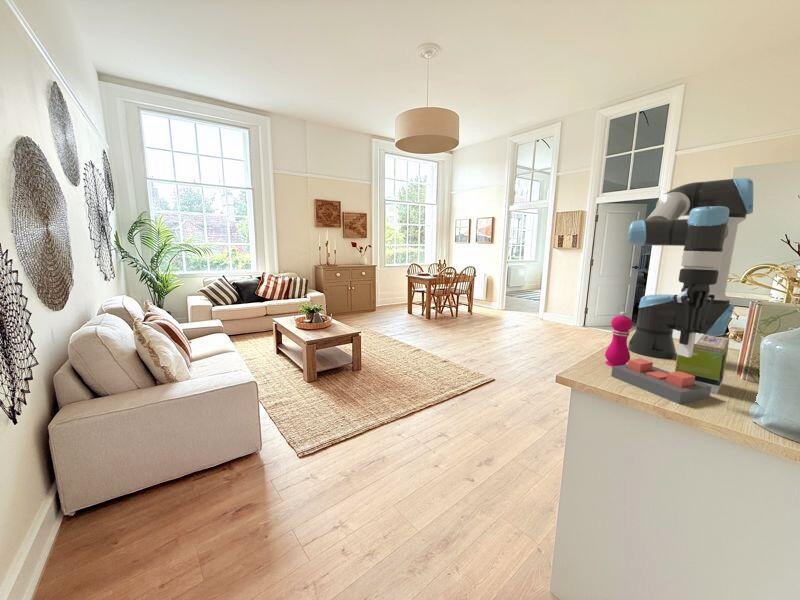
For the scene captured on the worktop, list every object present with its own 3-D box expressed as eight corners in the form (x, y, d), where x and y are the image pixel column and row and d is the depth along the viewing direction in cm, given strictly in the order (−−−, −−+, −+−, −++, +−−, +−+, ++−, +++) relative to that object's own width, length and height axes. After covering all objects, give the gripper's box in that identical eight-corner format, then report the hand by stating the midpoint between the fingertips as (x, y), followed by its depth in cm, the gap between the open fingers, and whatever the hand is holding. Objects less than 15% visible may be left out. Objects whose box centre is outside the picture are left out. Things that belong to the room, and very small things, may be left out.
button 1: (638, 369, 104) (640, 358, 103) (651, 373, 100) (653, 362, 100) (626, 371, 102) (628, 359, 102) (639, 375, 99) (641, 364, 98)
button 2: (656, 382, 99) (657, 370, 98) (669, 387, 96) (671, 375, 95) (644, 384, 97) (645, 372, 97) (657, 389, 94) (659, 377, 93)
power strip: (619, 368, 114) (621, 355, 113) (708, 401, 90) (711, 386, 89) (592, 372, 109) (594, 359, 109) (678, 408, 86) (680, 392, 85)
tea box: (680, 374, 109) (688, 331, 107) (722, 384, 102) (731, 338, 99) (671, 386, 99) (679, 339, 97) (716, 398, 92) (726, 348, 89)
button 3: (677, 383, 94) (679, 371, 93) (693, 388, 90) (695, 376, 90) (665, 385, 92) (667, 373, 91) (680, 391, 88) (682, 378, 88)
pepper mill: (632, 373, 109) (640, 314, 106) (608, 371, 111) (616, 313, 108) (622, 365, 116) (630, 310, 113) (600, 363, 118) (607, 308, 114)
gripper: (698, 267, 91) (684, 349, 95) (666, 267, 87) (653, 353, 91) (732, 269, 84) (716, 357, 88) (700, 269, 80) (684, 362, 84)
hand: (684, 355), depth 89 cm, fingers closed
